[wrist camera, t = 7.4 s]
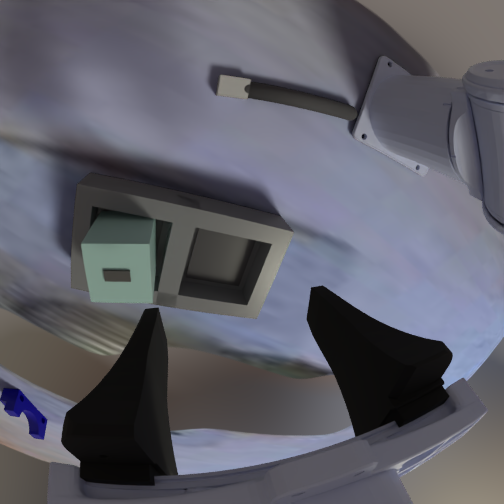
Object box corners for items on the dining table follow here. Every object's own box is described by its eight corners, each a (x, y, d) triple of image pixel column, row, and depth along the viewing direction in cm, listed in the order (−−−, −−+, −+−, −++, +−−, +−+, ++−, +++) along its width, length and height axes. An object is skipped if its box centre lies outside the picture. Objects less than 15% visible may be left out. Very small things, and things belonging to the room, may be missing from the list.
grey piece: (280, 216, 23) (294, 232, 21) (248, 297, 26) (256, 318, 24) (90, 172, 18) (77, 184, 15) (80, 267, 21) (71, 287, 19)
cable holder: (4, 387, 26) (-3, 408, 23) (19, 388, 27) (13, 411, 23) (31, 417, 30) (27, 437, 27) (47, 418, 31) (43, 439, 27)
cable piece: (353, 106, 20) (361, 107, 19) (350, 122, 21) (358, 123, 20) (218, 76, 17) (220, 74, 16) (215, 95, 18) (217, 94, 17)
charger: (156, 211, 19) (149, 245, 15) (156, 261, 21) (152, 304, 17) (101, 211, 18) (80, 244, 14) (106, 261, 20) (90, 303, 16)
